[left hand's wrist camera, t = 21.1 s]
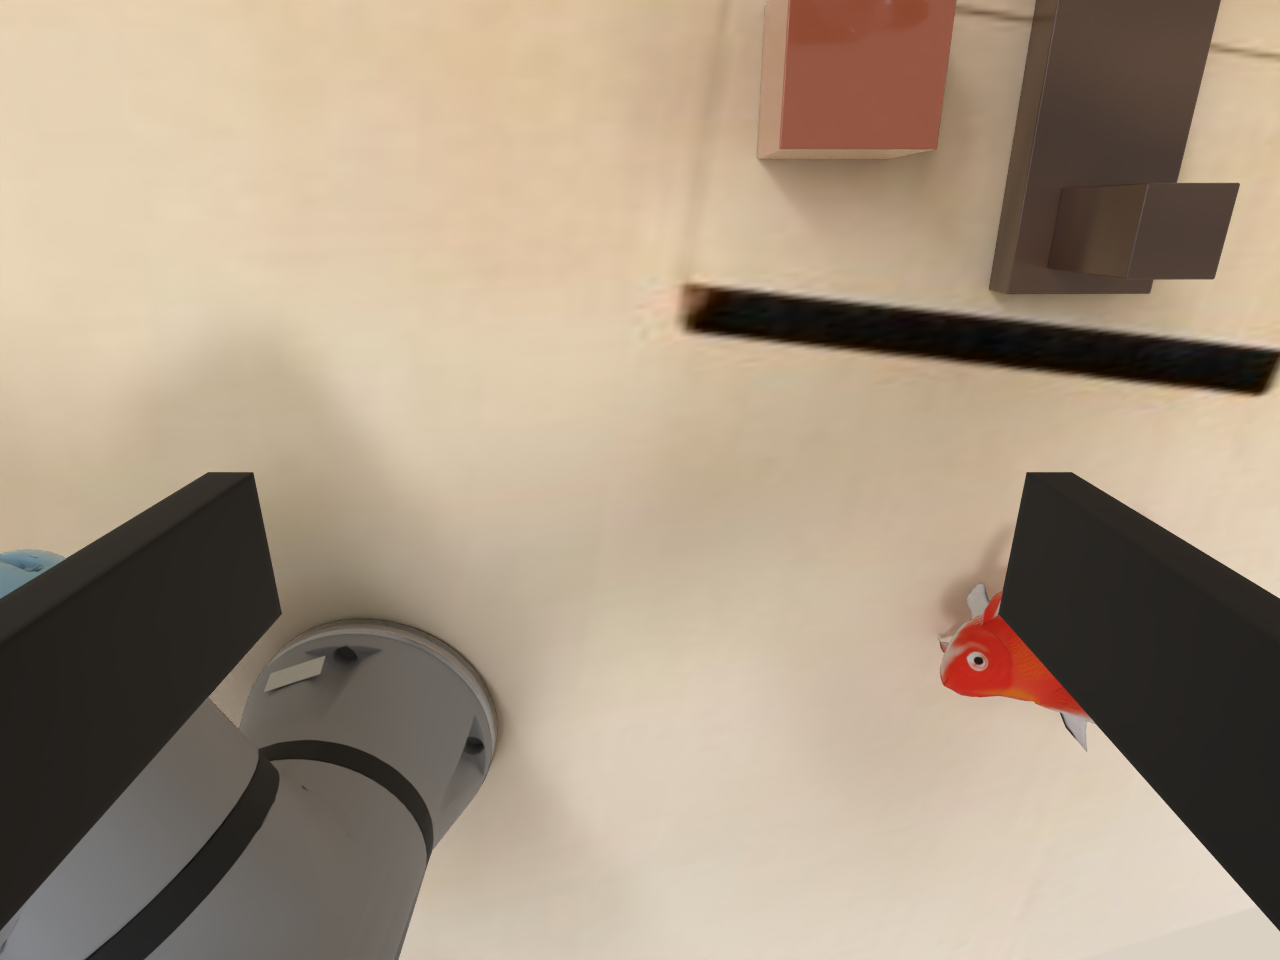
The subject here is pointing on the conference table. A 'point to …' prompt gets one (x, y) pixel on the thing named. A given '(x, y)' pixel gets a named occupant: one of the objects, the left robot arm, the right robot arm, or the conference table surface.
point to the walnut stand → (1109, 152)
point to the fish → (1003, 665)
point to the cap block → (853, 77)
